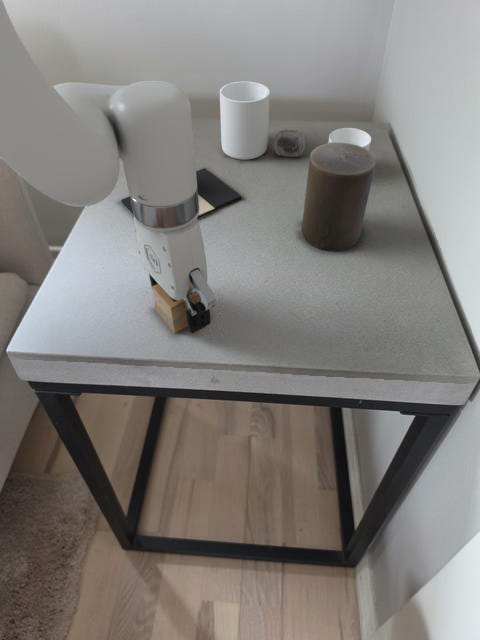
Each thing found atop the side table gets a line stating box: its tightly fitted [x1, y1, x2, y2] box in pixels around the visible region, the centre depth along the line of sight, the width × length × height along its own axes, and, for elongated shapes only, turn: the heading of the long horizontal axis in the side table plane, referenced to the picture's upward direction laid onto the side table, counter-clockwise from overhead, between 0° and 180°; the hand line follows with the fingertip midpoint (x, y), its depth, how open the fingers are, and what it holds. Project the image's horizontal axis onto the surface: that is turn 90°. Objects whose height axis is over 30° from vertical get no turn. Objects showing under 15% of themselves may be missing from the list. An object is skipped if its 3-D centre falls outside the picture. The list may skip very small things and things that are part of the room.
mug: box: [219, 80, 271, 161], centre depth 96 cm, size 10×12×12 cm
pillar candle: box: [301, 142, 377, 252], centre depth 75 cm, size 10×10×15 cm
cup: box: [327, 127, 372, 151], centre depth 91 cm, size 8×10×7 cm
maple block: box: [151, 282, 201, 334], centre depth 67 cm, size 5×5×5 cm
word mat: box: [121, 167, 242, 218], centre depth 87 cm, size 18×13×1 cm
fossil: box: [272, 129, 306, 158], centre depth 97 cm, size 6×3×5 cm, turn 89°
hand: (180, 306), depth 67 cm, fingers open, 9 cm apart
